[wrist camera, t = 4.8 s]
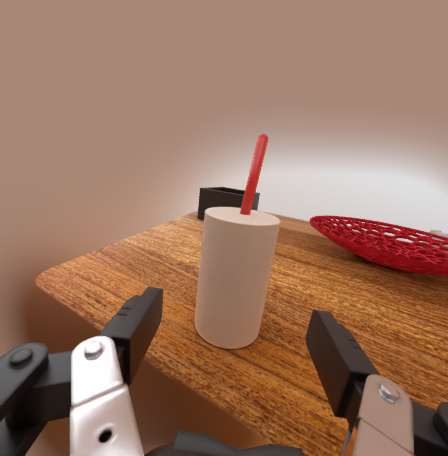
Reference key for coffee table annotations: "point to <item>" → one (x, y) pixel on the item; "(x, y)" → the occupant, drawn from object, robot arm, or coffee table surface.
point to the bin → (222, 199)
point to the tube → (437, 238)
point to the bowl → (387, 244)
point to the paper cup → (235, 267)
